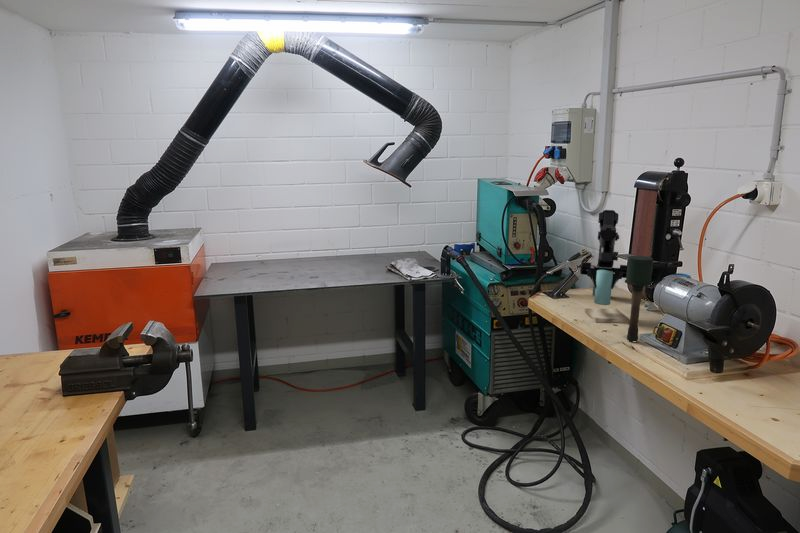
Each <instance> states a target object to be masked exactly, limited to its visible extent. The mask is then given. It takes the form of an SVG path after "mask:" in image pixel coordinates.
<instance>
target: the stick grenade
mask: <svg viewBox="0 0 800 533" xmlns="http://www.w3.org/2000/svg"><path fill="white" fill-rule="evenodd" d="M626 265H627V275H626V278H625V279H624V283H625V284H627V285H629V286H632V287H631V290H632V291H631V292H632V293H631V307H630V317H629V326H628V328H627V334H626V339H627V341H628V340H629V341H628V342H630V341H637V342H638V340H639V316H640V310H641V303H642V291H643V287H644V286H650V285H652V283H653V282H652V273H653V266H654V258H653V257H650V256H647V255H646V256H645V255H631V256H630V255H629V256H628V257H627V264H626Z"/></svg>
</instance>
